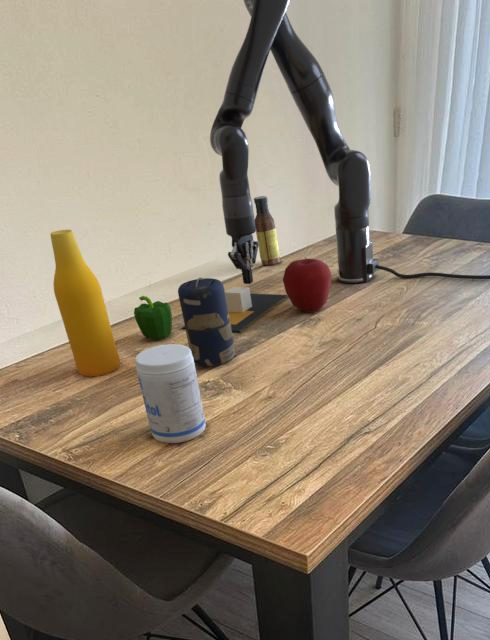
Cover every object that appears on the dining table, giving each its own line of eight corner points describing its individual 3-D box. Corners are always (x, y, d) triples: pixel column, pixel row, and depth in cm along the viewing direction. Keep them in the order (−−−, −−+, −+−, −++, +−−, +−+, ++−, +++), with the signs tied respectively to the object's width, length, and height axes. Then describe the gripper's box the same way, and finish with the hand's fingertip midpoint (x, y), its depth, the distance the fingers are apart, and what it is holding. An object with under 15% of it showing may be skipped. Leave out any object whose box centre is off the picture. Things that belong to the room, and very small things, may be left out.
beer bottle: (104, 378, 143) (64, 237, 127) (69, 375, 146) (26, 237, 130) (129, 362, 150) (94, 226, 134) (95, 359, 153) (57, 226, 137)
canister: (243, 353, 148) (230, 271, 139) (224, 370, 141) (209, 285, 131) (205, 351, 151) (189, 271, 142) (184, 368, 144) (166, 284, 134)
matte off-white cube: (249, 287, 173) (240, 293, 169) (252, 306, 175) (243, 312, 171) (232, 286, 174) (223, 292, 171) (235, 305, 177) (226, 311, 173)
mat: (288, 296, 182) (287, 294, 181) (239, 332, 160) (238, 330, 160) (236, 294, 187) (236, 292, 187) (182, 329, 166) (182, 327, 166)
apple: (279, 317, 168) (272, 263, 161) (298, 302, 177) (292, 250, 170) (323, 319, 164) (318, 263, 156) (340, 304, 172) (336, 251, 165)
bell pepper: (182, 335, 162) (174, 294, 157) (154, 345, 157) (144, 304, 152) (162, 329, 167) (153, 289, 162) (134, 339, 162) (124, 298, 157)
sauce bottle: (282, 260, 216) (274, 194, 205) (279, 265, 211) (270, 198, 200) (262, 261, 217) (253, 195, 206) (258, 266, 211) (249, 199, 201)
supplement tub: (141, 436, 118) (121, 358, 110) (183, 415, 124) (167, 339, 116) (176, 450, 113) (157, 369, 105) (218, 428, 119) (203, 349, 111)
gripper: (239, 219, 161) (249, 291, 171) (263, 208, 172) (272, 276, 181) (212, 219, 164) (223, 290, 173) (238, 208, 174) (247, 275, 183)
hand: (248, 283), depth 177 cm, fingers closed
